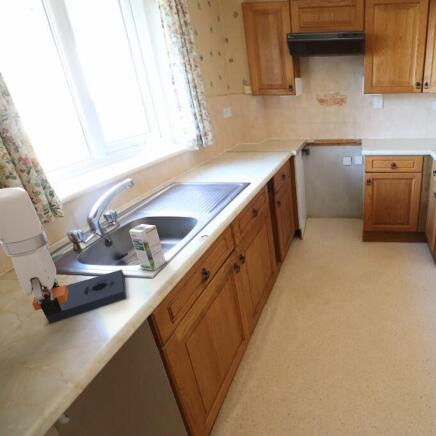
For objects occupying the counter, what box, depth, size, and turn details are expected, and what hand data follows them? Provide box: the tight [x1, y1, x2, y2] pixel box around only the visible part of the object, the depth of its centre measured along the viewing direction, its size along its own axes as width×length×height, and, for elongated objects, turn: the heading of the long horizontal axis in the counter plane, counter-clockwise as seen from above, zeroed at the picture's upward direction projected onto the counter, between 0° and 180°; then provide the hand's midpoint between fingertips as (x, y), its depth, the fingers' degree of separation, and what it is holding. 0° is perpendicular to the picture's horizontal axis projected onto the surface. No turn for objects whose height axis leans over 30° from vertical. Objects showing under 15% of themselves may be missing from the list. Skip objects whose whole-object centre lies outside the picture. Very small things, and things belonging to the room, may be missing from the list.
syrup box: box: [128, 223, 167, 271], centre depth 107 cm, size 6×6×14 cm
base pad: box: [45, 268, 127, 324], centre depth 95 cm, size 18×14×2 cm
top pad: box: [31, 284, 68, 311], centre depth 79 cm, size 6×5×4 cm
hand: (55, 306), depth 80 cm, fingers closed on top pad, 5 cm apart
